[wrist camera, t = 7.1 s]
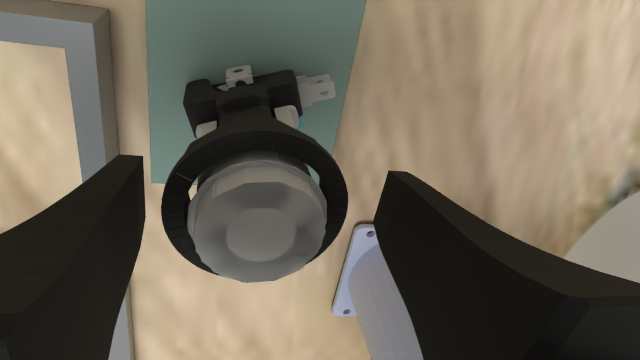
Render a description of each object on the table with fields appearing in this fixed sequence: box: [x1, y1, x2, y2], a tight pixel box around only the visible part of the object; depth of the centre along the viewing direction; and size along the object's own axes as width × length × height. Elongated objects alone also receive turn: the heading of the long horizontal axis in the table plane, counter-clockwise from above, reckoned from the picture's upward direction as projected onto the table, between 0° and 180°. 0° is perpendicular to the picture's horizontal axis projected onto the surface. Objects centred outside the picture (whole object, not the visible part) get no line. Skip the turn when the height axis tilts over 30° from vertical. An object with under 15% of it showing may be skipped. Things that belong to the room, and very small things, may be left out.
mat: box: [146, 0, 366, 186], centre depth 20 cm, size 9×11×1 cm
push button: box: [161, 65, 348, 283], centre depth 16 cm, size 7×5×10 cm
